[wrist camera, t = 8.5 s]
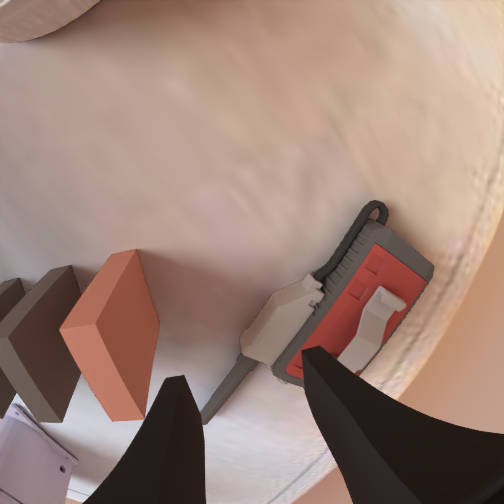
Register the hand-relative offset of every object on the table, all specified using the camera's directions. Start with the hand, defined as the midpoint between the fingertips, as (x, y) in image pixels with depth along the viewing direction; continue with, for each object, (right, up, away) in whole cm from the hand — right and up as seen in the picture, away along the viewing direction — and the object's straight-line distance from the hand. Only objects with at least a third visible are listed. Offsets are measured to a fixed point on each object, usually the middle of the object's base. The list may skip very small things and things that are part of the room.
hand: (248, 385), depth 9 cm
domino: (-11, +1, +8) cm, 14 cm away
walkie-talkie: (+4, -1, +12) cm, 13 cm away
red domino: (-7, +2, +8) cm, 11 cm away
